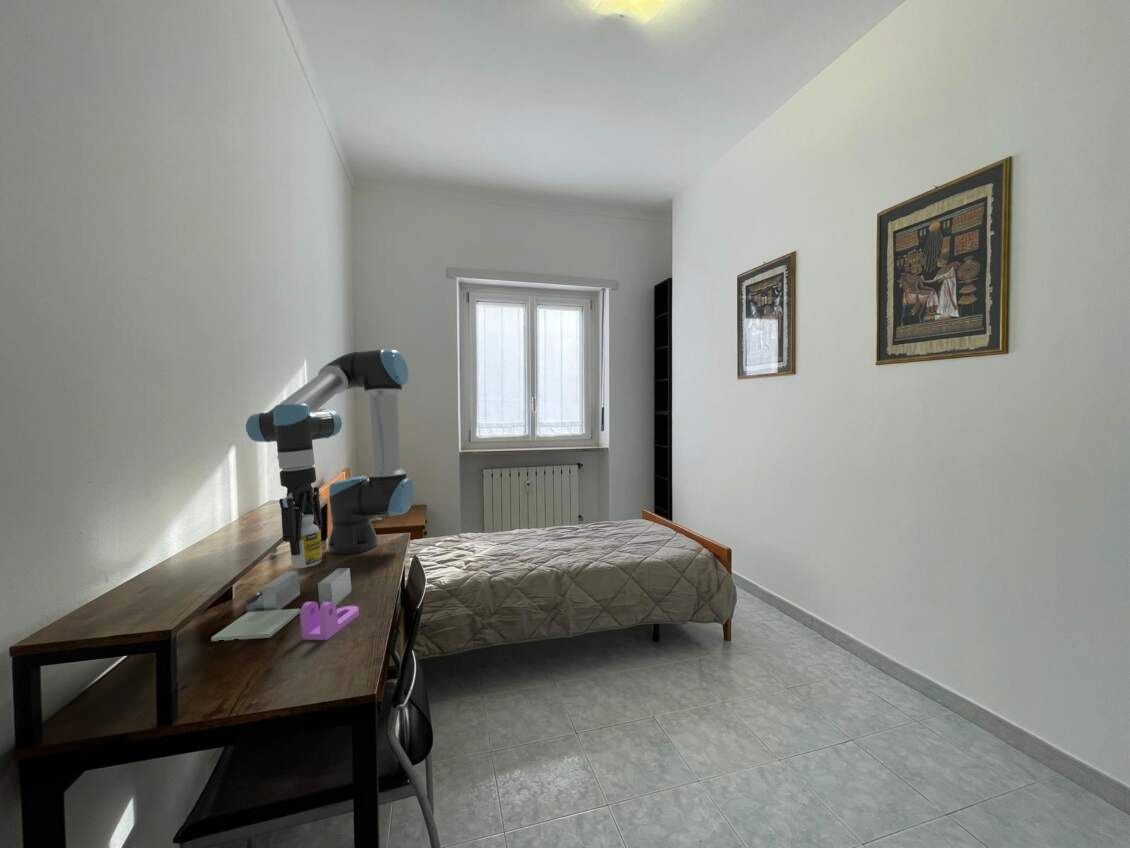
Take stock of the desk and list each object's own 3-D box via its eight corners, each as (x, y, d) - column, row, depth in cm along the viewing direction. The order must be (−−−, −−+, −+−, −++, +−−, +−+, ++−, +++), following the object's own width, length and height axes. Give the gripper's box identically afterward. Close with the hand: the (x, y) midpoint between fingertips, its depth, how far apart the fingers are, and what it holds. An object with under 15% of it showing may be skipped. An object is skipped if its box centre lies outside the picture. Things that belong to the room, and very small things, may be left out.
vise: (268, 596, 124) (265, 573, 123) (351, 591, 124) (349, 567, 123) (242, 613, 114) (239, 588, 113) (333, 608, 114) (330, 582, 113)
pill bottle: (302, 570, 114) (297, 521, 113) (286, 566, 117) (281, 519, 116) (328, 560, 120) (323, 514, 119) (312, 557, 123) (307, 512, 122)
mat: (248, 615, 113) (248, 611, 113) (300, 611, 113) (300, 608, 113) (211, 641, 101) (211, 637, 101) (269, 637, 101) (269, 633, 101)
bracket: (327, 640, 98) (324, 606, 98) (302, 640, 99) (299, 606, 99) (364, 611, 111) (361, 581, 110) (341, 611, 112) (338, 581, 111)
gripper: (303, 462, 126) (312, 549, 128) (256, 476, 107) (267, 578, 109) (331, 460, 127) (340, 547, 128) (290, 474, 107) (301, 576, 109)
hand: (307, 561), depth 119 cm, fingers closed on pill bottle, 6 cm apart
